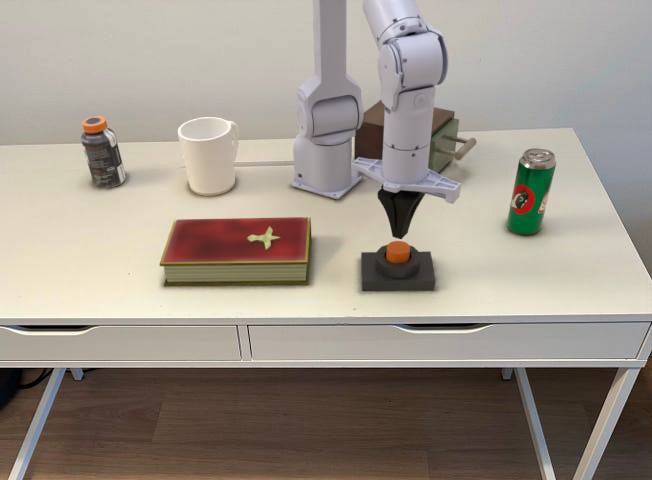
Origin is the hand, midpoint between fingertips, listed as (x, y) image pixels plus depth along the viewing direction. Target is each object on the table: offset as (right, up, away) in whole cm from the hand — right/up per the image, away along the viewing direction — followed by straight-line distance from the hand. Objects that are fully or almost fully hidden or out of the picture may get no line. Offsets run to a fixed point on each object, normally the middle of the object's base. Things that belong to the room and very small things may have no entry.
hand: (400, 234), depth 90 cm
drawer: (+8, +18, +26) cm, 33 cm away
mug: (-28, +14, +27) cm, 41 cm away
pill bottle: (-48, +15, +30) cm, 58 cm away
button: (0, -3, +3) cm, 4 cm away
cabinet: (+5, +19, +29) cm, 34 cm away
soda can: (+21, +3, +12) cm, 24 cm away
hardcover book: (-22, -2, +10) cm, 25 cm away
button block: (0, -5, +5) cm, 7 cm away
